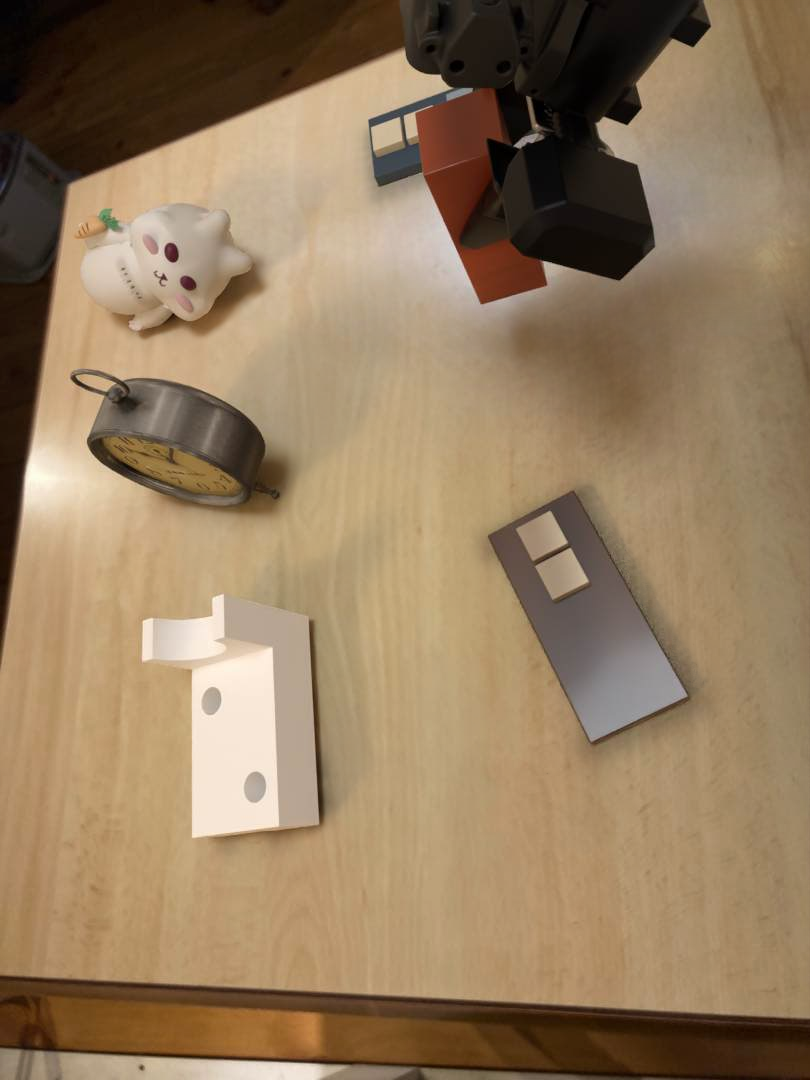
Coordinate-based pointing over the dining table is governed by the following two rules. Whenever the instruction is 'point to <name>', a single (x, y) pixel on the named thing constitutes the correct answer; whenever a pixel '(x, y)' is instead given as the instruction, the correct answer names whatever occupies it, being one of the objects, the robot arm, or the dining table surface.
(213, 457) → the alarm clock
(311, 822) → the bracket
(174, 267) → the cat figurine
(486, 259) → the terracotta brick
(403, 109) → the board
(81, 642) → the dining table surface
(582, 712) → the board
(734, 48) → the dining table surface
